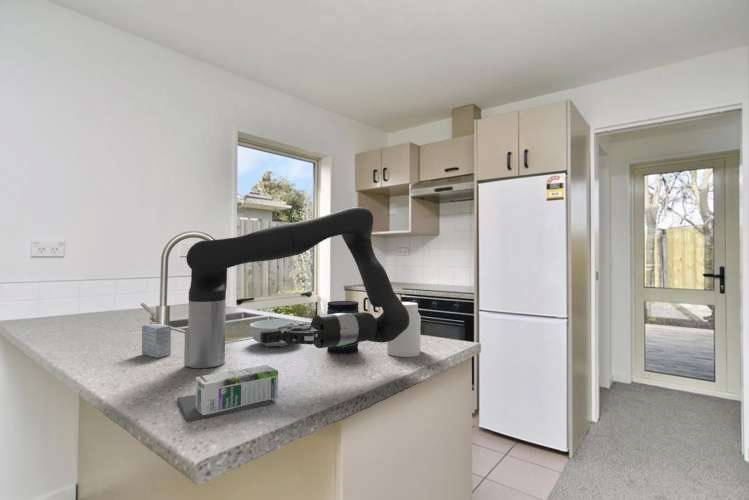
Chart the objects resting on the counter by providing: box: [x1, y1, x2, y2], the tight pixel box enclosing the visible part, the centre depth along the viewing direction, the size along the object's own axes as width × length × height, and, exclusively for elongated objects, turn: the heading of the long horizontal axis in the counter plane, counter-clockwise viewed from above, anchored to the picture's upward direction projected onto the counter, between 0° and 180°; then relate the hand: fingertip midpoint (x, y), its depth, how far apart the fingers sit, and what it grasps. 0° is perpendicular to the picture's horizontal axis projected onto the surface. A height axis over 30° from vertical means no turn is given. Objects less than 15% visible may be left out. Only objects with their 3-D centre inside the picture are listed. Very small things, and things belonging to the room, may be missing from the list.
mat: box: [177, 393, 271, 422], centre depth 78 cm, size 15×12×1 cm
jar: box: [386, 301, 422, 358], centre depth 121 cm, size 12×10×15 cm
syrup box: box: [195, 364, 279, 415], centre depth 76 cm, size 6×6×14 cm
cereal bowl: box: [249, 318, 303, 347], centre depth 130 cm, size 17×17×7 cm
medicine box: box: [141, 323, 172, 359], centre depth 115 cm, size 8×4×9 cm, turn 58°
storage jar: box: [326, 300, 360, 356], centre depth 122 cm, size 10×10×15 cm
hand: (261, 337), depth 82 cm, fingers closed
